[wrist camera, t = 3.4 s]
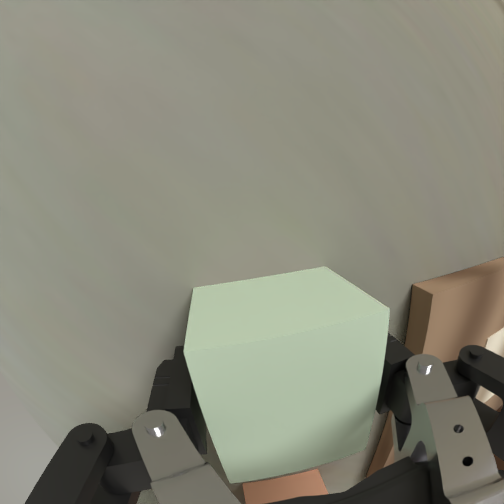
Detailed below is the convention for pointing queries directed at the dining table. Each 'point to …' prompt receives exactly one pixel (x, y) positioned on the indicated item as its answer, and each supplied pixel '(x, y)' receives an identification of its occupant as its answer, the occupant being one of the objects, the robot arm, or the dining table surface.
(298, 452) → the sage green brick
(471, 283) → the base board
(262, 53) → the dining table surface
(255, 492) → the terracotta brick
